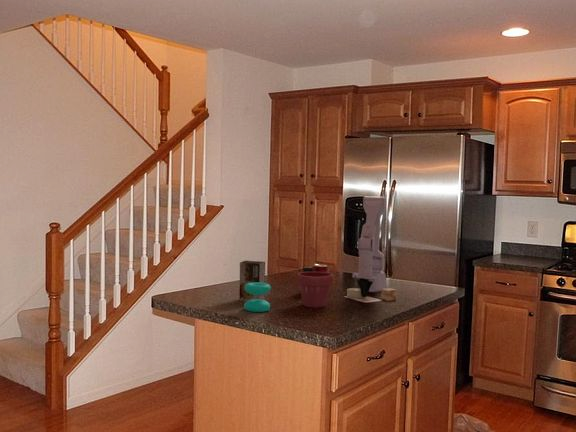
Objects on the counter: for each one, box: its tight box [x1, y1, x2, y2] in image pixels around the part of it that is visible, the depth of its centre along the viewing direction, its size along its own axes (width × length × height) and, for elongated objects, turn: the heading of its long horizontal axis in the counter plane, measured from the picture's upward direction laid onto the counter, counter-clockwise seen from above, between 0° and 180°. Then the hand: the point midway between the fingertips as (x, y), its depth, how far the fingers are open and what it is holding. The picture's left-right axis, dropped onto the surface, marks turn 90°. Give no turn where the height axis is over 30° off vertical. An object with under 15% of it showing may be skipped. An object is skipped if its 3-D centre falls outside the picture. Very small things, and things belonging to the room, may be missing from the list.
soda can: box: [311, 263, 329, 273], centre depth 262 cm, size 7×7×12 cm
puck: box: [346, 287, 365, 299], centre depth 252 cm, size 8×8×3 cm
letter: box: [344, 295, 384, 304], centre depth 248 cm, size 10×14×1 cm
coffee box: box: [238, 260, 266, 302], centre depth 237 cm, size 9×6×16 cm
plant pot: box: [297, 271, 334, 308], centre depth 232 cm, size 14×14×13 cm
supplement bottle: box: [299, 266, 314, 295], centre depth 255 cm, size 7×7×12 cm
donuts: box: [243, 282, 272, 313], centre depth 220 cm, size 10×10×10 cm
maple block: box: [380, 287, 397, 302], centre depth 248 cm, size 4×4×4 cm
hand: (364, 296), depth 247 cm, fingers closed
